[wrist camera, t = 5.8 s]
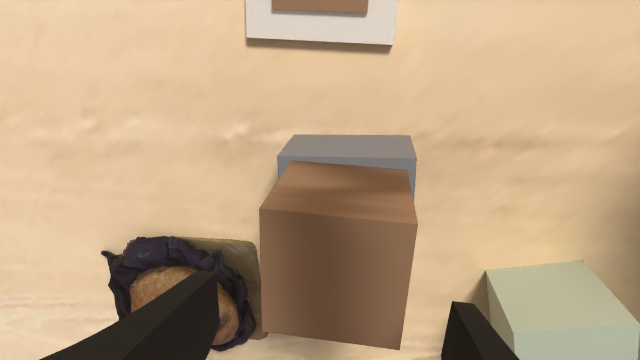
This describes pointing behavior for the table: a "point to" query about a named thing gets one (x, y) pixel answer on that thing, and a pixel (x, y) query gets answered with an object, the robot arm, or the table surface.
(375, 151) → the base block
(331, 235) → the walnut block
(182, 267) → the two-tone domed part
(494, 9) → the table surface
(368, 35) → the tile
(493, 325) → the sage block
